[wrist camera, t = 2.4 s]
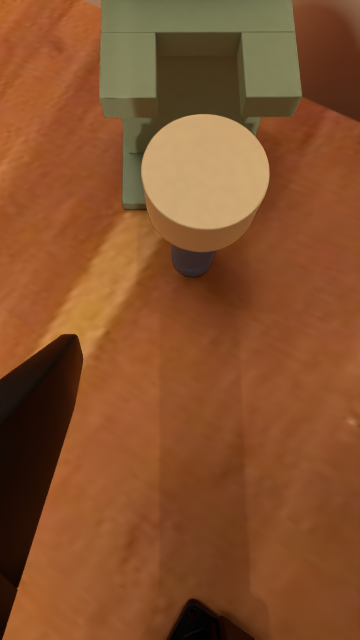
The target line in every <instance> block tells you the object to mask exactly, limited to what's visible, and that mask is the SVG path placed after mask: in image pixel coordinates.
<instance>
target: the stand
mask: <svg viewBox="0 0 360 640" xmlns="http://www.w3.org/2000/svg"><path fill="white" fill-rule="evenodd" d="M301 98H302V92H301V83H300V73H299V65H298V55H297V46H296V37H295V28H294V19H293V10H292V0H102V3H101V43H100V81H99V99H100V103H101V107H102V110H103V114H104V117H105V118H121V119H122V123H123V179H122V204H123V207H124V209H147V207H146V201H145V195H144V190H143V184H142V177H141V165H142V159H143V156H144V152H145V150H146V148H147V146H148V144H149V143H150V141H151V140H152V138H153V137H154V136H155V135H156V133H157V132H159V131H160V130H161V129H162V128H163V127H165V126H166V125H168V124H169V123H171V122H173V121H175V120H177V119H180V118H182V117H186V116H190V115H197V114H210V115H217V116H222V117H225V118H228V119H231V120H233V121H235V122H237V123H239V124H241V125H242V126H244V127H245V128H246V129H248V130H249V131H250V132H251V133H252V134H253V135H254V136H255V135H256V132H257V129H258V126H259V123H260V120H261V117H292V116H293V115H294V113H295V111H296V109H297V106H298V104H299V102H300V100H301Z"/></svg>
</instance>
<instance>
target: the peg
mask: <svg viewBox="0 0 360 640" xmlns="http://www.w3.org/2000/svg"><path fill="white" fill-rule="evenodd" d="M269 175H270V172H269V164H268V159H267V156H266V154H265V151H264V149H263V147H262V145H261V144H260V142H259V141H258V140H257V138H256V137H255V136H254V135H253V134H252V133H251V132H250V131H249V130H248V129H246V128H245V127H244V126H242V125H241V124H239V123H237V122H235V121H233V120H231V119H228V118H225V117H222V116H217V115H210V114H197V115H190V116H186V117H182V118H180V119H177V120H175V121H173V122H171V123H169V124H168V125H166V126H165V127H163V128H162V129H161V130H160V131H159V132H157V133H156V135H155V136H154V137H153V138H152V140H151V141H150V143H149V144H148V146H147V148H146V150H145V152H144V156H143V159H142V165H141V177H142V184H143V190H144V195H145V201H146V207H147V212H148V215H149V218H150V220H151V222H152V224H153V226H154V227H155V229H156V230H157V231H158V233H159V234H160V235H161V236H162V237H163V238H165V239H166V240H167V241H169V242H170V243H171V244H172V260H173V264H174V266H175V268H176V269H177V270H178V271H179V272H180V273H181V274H183V275H185V276H189V277H195V276H200V275H202V274H204V273H205V272H206V271H207V270H208V269H209V268H210V266H211V263H212V260H213V257H214V254H215V252H216V250H219V249H222V248H224V247H227V246H229V245H230V244H232V243H234V242H235V241H236V240H238V239H239V238H240V237H241V236H242V235H243V234H244V233H245V232H246V230H247V229H248V227H249V226H250V224H251V222H252V220H253V218H254V216H255V214H256V212H257V210H258V208H259V206H260V204H261V202H262V201H263V199H264V197H265V194H266V192H267V189H268V184H269Z"/></svg>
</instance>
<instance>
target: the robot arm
mask: <svg viewBox="0 0 360 640" xmlns="http://www.w3.org/2000/svg"><path fill="white" fill-rule="evenodd" d="M82 364H83V354H82V350H81V346H80V342H79V339H78V336H77V335H75V334H63V335H61V336H59V337H58V338H57V339H55V340H54V341H53V342H51V343H50V344H48V345H47V346H46V347H44V348H43V349H41V350H40V351H39V352H37V353H36V354H35V355H33V356H32V357H30V358H29V359H28V360H26V361H25V362H24V363H22V364H21V365H19V366H18V367H17V368H15V369H14V370H12V371H11V372H10V373H8V374H7V375H6V376H4V377H3V378H1V379H0V640H2V638H3V635H4V632H5V629H6V626H7V622H8V619H9V616H10V613H11V610H12V606H13V603H14V600H15V597H16V594H17V588H18V586H19V583H20V580H21V577H22V574H23V571H24V567H25V564H26V561H27V558H28V555H29V551H30V548H31V545H32V542H33V539H34V535H35V532H36V529H37V526H38V523H39V519H40V516H41V513H42V510H43V507H44V504H45V500H46V497H47V494H48V491H49V488H50V484H51V481H52V478H53V475H54V472H55V468H56V465H57V462H58V459H59V456H60V452H61V449H62V446H63V443H64V440H65V436H66V433H67V430H68V427H69V424H70V421H71V417H72V414H73V411H74V407H75V402H76V397H77V392H78V386H79V381H80V375H81V370H82ZM192 608H194V609H196V611H195V612H193V613H192V612H190V610H191V609H192ZM166 640H255V639H254V638H253V637H251V636H250V635H249V634H247V633H246V632H244V631H243V630H242V629H240V628H239V627H237V626H236V625H235V624H233V623H232V622H230V621H229V620H228V619H226V618H225V617H223V616H218V615H216V614H215V613H213V612H212V611H211V610H209V609H208V608H206V607H205V606H204V605H202V604H201V603H199V602H198V601H197V600H194V599H191V600H189V601H188V602H187V603H186V605H185V606H184V608H183V610H182V612H181V614H180V616H179V617H178V619H177V621H176V623H175V625H174V626H173V628H172V630H171V632H170V634H169V636H168V637H167V639H166Z"/></svg>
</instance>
